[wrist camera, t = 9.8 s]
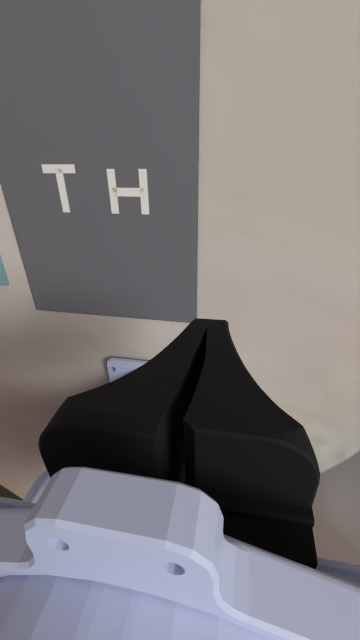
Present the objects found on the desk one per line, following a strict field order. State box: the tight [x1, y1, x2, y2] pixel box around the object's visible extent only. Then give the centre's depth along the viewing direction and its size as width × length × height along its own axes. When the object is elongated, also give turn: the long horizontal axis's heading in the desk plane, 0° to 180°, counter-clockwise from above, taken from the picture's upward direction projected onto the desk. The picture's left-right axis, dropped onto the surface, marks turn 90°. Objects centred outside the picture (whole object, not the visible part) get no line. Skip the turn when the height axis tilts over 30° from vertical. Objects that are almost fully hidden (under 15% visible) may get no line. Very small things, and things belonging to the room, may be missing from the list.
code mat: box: [0, 0, 201, 323], centre depth 20 cm, size 18×13×1 cm
